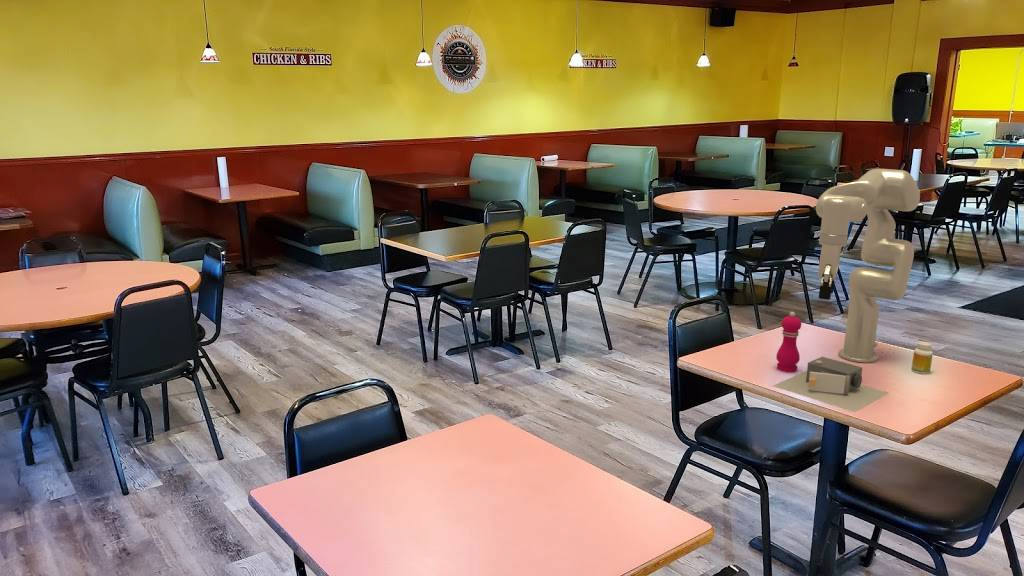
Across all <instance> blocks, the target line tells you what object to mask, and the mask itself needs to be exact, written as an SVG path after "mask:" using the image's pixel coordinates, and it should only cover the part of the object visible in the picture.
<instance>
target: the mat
mask: <svg viewBox="0 0 1024 576" xmlns="http://www.w3.org/2000/svg"><path fill="white" fill-rule="evenodd" d="M806 376H807V370H805V371H802V372H801V373H798V374H796V375H793V376H791V377H789V378H785V380H782V381H780V382H778V383H775V384H773V385H772V386H773V387H774V388H775V387H776V388H779V389H781V390H785V391H787V392H791V393H794V394H796V395H800V396H803V397H807V398H809V399H812V400H817V401H819V402H822V403H825V404H829V405H832V406H835V407H837V408H841V409H844V410H848V411H850V412H854V413H856V412H857V411H859V410H861V409H863V408H865V407H866V406H868V405H869V406H870V404H872V403H874V402H875V401H878V400H879V399H881V398H882V397H883V398H884V397H885V396H886V395H888V394H889V392H886V391H883V390H880V389H876V388H873V387H869V386H867V385H863V384H861V385H860V387H859V388H857V389H855V390H853V391H851V392H849V393H848V395H844V394H841V393H833V392H825V391H817V390H809V389H808V386H809V383H808V382H806Z"/></svg>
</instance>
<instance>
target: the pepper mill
mask: <svg viewBox="0 0 1024 576" xmlns="http://www.w3.org/2000/svg"><path fill="white" fill-rule="evenodd" d="M788 314H789V315H787V316H785V317H784V318H782V320H781V327H782V329H783V330H782V332H781V335H782V336H783V339H782V343H781V345H780V346H779V348H778V350H777V352H776V355H775V358H776V360H777V364H776V369H777V370H778V371H780V372H784V373H796V372H797V370H798V365H797V364H798V363H799V362H800V359H801V358H800V352H799V350H798V347H797V338H798V337H799V334H800V331H799V330H800V329H801V328H802V321H801V319H800V318H799V317H797V316H796V312H795V311H790V312H789V313H788Z"/></svg>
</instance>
